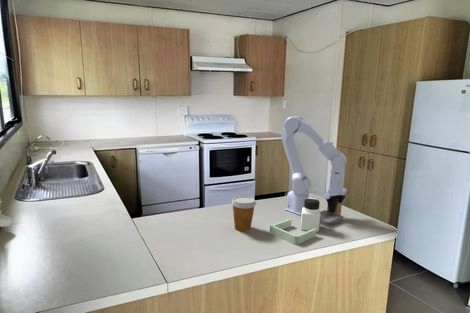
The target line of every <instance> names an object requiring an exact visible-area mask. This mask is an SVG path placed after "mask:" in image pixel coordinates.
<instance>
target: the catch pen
mask: <svg viewBox="0 0 470 313" xmlns="http://www.w3.org/2000/svg"><path fill="white" fill-rule="evenodd" d="M292 221H293V219H292V218H288V219H284V220H282V221H278V222H276V223H273V224H271V225H269V233H270V234H271V235H274V236H275V237H277V238H280V239H282V240H285V241H286V242H289V243H292V245H293V244H294V245H295V246H298V245H300V244H302V243H305V242H306V241H308V240H311V239H314V238H315V237H317V232H316V231H317V229H315V228H314V229H311V230H309V231H307V230H305V231H304V232H302V233H299V234H294V233H291V232H289V231H286V230H284V229H287V228H291V227H292Z"/></svg>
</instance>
